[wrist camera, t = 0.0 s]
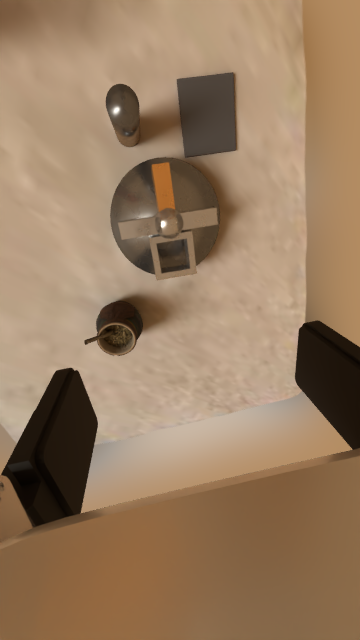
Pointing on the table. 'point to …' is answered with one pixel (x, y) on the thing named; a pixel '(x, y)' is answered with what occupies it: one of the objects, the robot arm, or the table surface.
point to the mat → (207, 114)
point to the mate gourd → (117, 328)
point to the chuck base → (140, 202)
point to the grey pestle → (124, 114)
